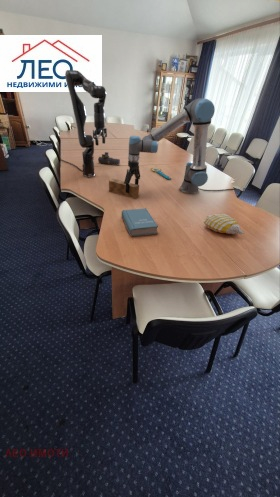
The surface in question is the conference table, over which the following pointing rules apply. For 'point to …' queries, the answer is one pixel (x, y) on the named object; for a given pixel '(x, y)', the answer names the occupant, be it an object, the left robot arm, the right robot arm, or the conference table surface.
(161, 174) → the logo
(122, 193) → the bar
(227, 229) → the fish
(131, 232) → the book
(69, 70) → the left robot arm
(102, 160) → the laser sight
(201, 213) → the conference table surface
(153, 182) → the conference table surface
